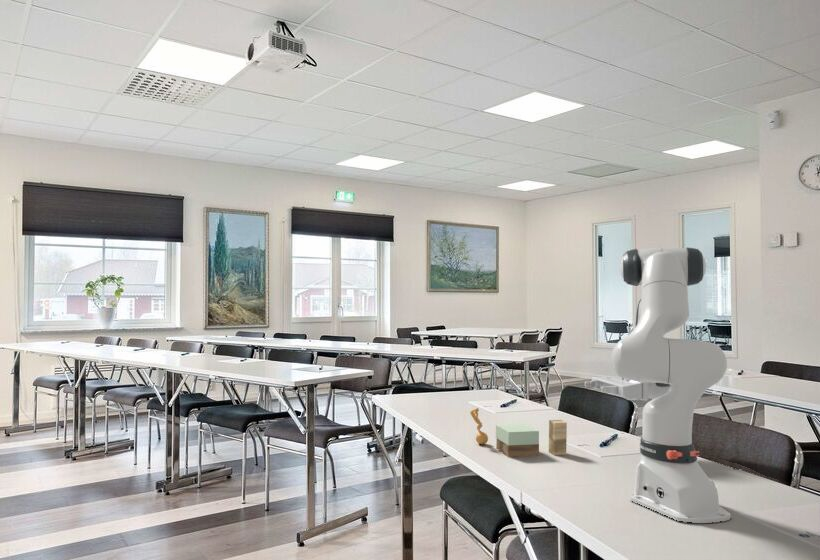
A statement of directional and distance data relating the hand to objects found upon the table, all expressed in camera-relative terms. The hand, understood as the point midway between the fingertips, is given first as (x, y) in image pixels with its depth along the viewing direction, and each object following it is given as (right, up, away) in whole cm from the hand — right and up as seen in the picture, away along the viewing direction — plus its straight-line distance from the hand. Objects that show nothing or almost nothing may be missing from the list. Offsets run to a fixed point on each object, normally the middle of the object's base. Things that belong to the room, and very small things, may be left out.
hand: (593, 387), depth 189 cm
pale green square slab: (-25, -16, -3) cm, 30 cm away
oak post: (-12, -20, -3) cm, 24 cm away
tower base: (-25, -20, -3) cm, 32 cm away
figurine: (-36, -20, +6) cm, 41 cm away
